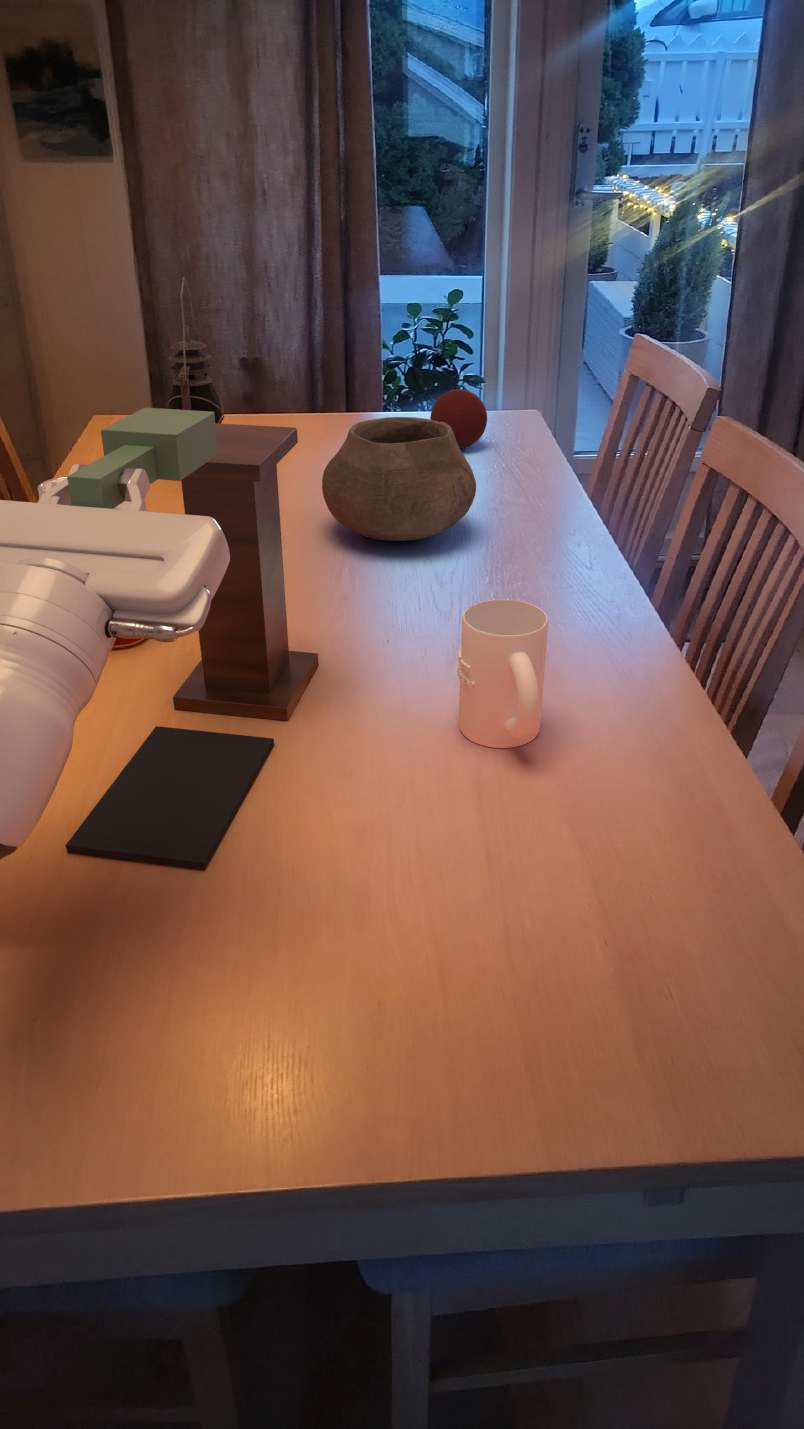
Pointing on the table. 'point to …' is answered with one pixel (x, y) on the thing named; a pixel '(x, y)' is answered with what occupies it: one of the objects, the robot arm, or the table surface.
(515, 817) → the table surface
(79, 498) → the green block mallet
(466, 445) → the decorative ball
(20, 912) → the table surface
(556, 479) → the table surface
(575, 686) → the table surface
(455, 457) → the clay pot
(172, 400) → the lantern
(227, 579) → the stand
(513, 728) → the mug
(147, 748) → the mat
